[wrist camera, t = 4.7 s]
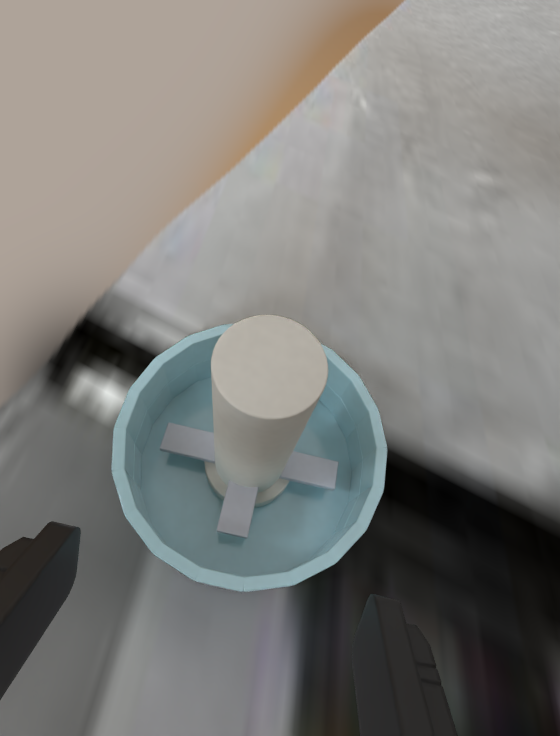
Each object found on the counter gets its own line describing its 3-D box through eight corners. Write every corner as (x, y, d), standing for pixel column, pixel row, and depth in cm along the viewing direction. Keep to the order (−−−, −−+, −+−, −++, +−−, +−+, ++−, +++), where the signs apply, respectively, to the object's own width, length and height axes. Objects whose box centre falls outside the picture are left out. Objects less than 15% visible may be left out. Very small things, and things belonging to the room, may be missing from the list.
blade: (339, 415, 29) (419, 295, 17) (318, 560, 24) (406, 530, 13) (188, 380, 28) (166, 235, 17) (142, 520, 24) (71, 453, 13)
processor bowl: (367, 392, 30) (395, 354, 25) (342, 616, 24) (373, 621, 19) (173, 347, 30) (164, 299, 25) (95, 560, 24) (63, 551, 19)
